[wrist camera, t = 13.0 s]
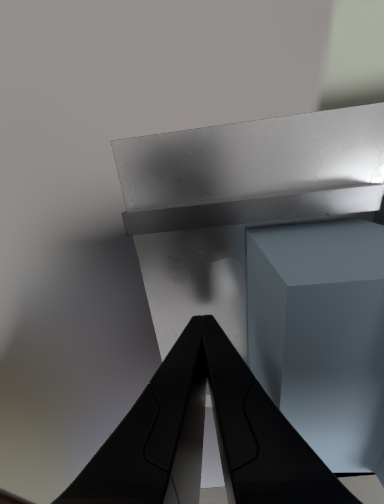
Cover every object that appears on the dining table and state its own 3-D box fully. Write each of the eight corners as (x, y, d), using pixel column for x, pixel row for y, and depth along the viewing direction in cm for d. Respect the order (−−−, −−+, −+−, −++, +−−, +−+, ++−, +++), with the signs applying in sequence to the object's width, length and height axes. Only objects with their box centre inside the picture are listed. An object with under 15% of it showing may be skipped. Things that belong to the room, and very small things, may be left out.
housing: (332, 359, 10) (436, 511, 6) (248, 363, 10) (284, 511, 6) (359, 217, 7) (593, 294, 3) (246, 229, 8) (306, 313, 3)
